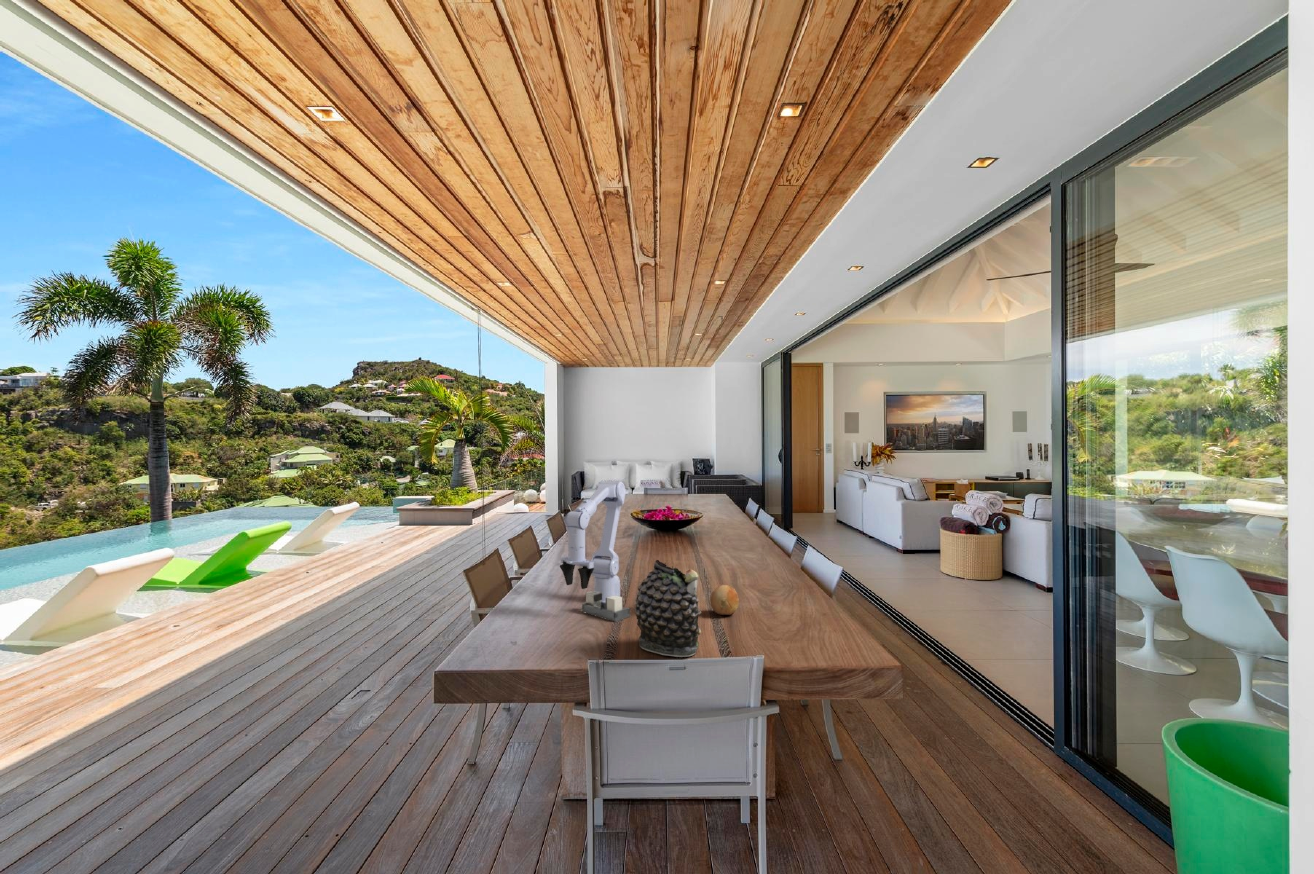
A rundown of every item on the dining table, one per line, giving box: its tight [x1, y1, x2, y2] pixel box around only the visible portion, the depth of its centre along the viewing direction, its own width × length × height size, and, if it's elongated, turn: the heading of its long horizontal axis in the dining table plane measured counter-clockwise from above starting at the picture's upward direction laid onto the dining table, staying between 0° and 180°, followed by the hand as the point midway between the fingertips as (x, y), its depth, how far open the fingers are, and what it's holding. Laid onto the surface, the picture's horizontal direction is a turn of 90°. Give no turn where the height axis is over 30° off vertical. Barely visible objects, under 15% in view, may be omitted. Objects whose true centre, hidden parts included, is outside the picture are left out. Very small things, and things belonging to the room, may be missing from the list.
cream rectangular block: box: [606, 595, 623, 612], centre depth 198 cm, size 4×4×5 cm
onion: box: [709, 584, 740, 616], centre depth 201 cm, size 10×10×10 cm
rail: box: [581, 589, 631, 623], centre depth 201 cm, size 7×16×7 cm, turn 50°
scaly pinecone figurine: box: [633, 559, 702, 658], centre depth 168 cm, size 21×15×25 cm
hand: (576, 586), depth 202 cm, fingers open, 7 cm apart
